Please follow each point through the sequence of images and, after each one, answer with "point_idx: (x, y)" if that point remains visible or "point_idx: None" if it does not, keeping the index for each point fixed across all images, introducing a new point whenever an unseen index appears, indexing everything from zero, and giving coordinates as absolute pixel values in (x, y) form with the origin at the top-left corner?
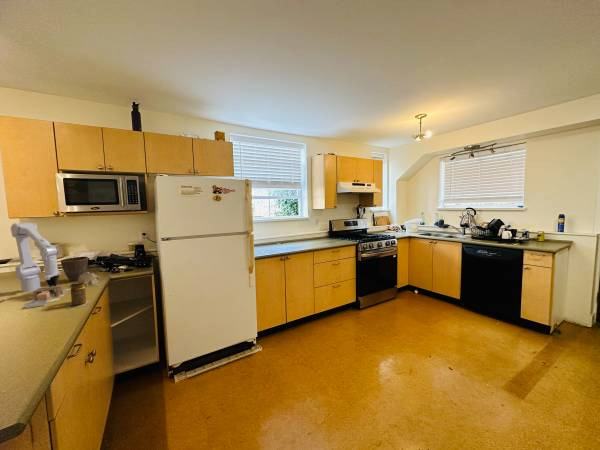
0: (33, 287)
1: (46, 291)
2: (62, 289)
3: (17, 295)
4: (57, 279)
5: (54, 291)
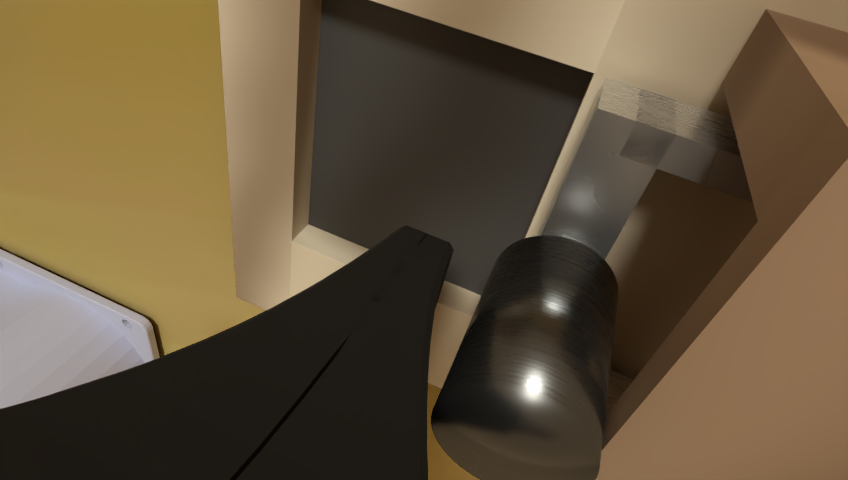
0: (76, 374)
1: (243, 264)
2: (240, 16)
3: None
4: (162, 415)
5: (611, 242)
